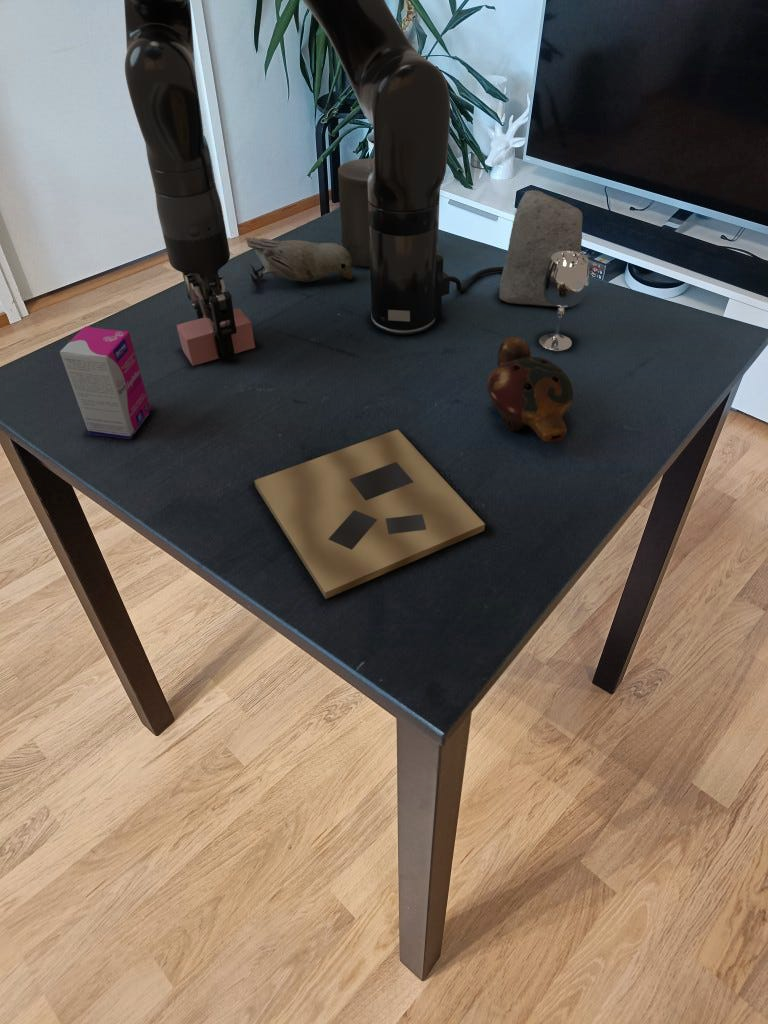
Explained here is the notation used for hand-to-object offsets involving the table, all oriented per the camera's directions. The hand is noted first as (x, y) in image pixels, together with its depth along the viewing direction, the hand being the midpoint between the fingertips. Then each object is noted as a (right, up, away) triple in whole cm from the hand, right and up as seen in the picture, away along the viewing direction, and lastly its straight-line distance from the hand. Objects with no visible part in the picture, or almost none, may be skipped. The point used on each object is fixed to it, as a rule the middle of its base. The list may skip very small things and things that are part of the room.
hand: (217, 344), depth 98 cm
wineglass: (+47, 0, 0) cm, 47 cm away
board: (+21, -23, -22) cm, 38 cm away
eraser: (0, -1, +1) cm, 1 cm away
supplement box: (-9, -12, -11) cm, 19 cm away
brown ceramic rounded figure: (+40, -12, -12) cm, 43 cm away
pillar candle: (+21, +20, +21) cm, 35 cm away
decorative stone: (+46, +9, +9) cm, 47 cm away
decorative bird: (+10, +13, +14) cm, 22 cm away
